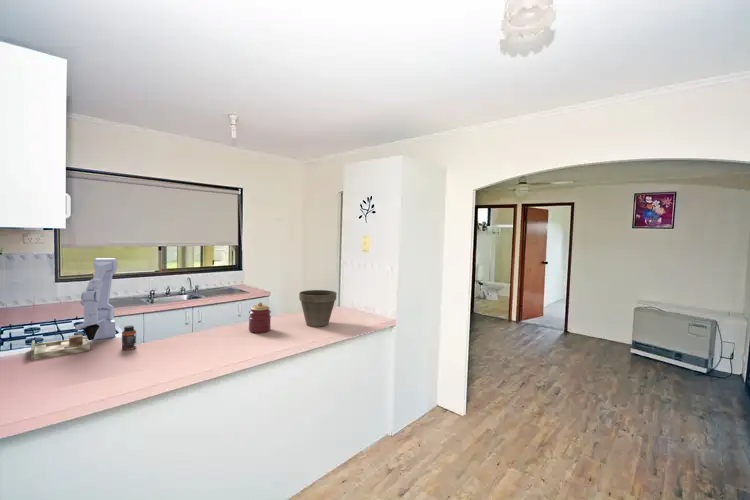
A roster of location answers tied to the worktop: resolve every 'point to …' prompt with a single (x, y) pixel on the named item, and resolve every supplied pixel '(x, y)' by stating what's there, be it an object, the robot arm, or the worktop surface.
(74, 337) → the walnut block
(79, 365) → the worktop surface
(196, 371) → the worktop surface
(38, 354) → the box
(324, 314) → the plant pot
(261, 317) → the canister
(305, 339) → the worktop surface
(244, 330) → the worktop surface
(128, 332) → the supplement bottle
